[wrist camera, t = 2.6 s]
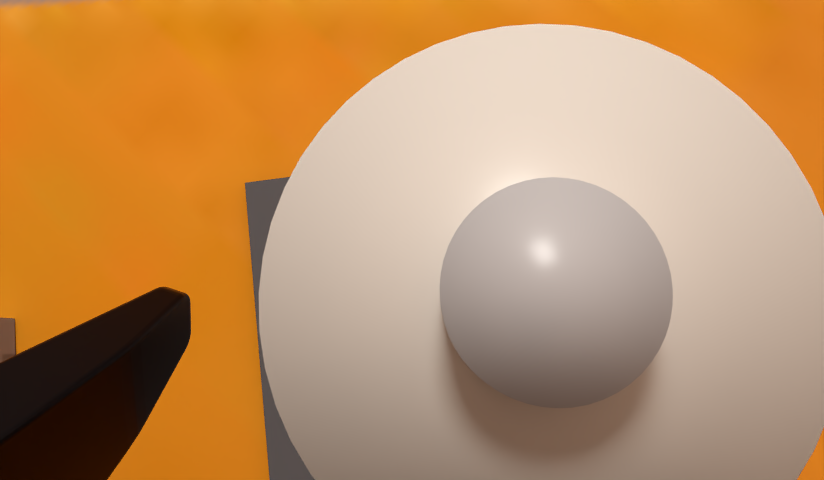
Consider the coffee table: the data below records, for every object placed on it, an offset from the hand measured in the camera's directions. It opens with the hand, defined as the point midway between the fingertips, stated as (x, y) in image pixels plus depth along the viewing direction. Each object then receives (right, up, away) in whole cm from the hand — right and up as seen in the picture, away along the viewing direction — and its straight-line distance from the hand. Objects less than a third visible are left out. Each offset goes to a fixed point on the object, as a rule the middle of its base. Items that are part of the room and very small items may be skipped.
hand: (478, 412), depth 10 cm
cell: (+1, 0, +9) cm, 9 cm away
